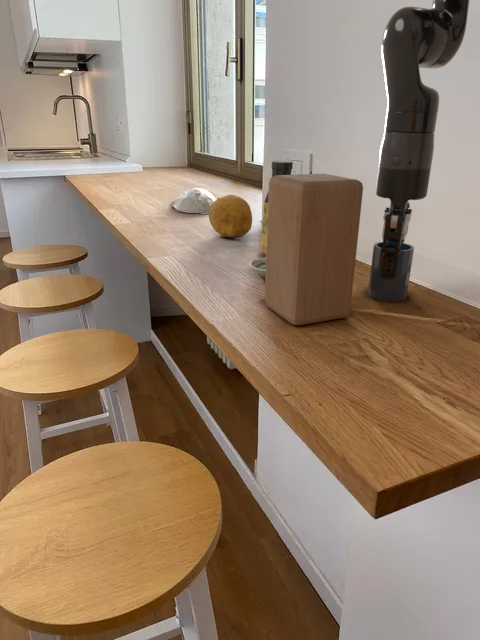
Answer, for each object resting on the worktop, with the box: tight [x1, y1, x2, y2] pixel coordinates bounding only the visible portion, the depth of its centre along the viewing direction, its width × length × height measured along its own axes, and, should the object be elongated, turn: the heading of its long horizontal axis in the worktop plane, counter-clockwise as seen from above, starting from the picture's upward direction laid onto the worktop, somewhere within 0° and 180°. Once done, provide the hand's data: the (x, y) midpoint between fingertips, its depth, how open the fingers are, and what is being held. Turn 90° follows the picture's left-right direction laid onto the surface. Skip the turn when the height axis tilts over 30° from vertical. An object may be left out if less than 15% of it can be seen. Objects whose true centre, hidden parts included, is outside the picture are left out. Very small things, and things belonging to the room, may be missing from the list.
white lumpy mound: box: [172, 187, 217, 215], centre depth 161 cm, size 16×25×7 cm, turn 7°
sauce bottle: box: [261, 159, 294, 258], centre depth 100 cm, size 7×6×20 cm
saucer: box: [248, 257, 266, 279], centre depth 93 cm, size 10×10×2 cm
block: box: [264, 173, 364, 326], centre depth 72 cm, size 10×10×20 cm
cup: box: [367, 241, 415, 302], centre depth 80 cm, size 6×6×9 cm
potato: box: [208, 194, 253, 240], centre depth 122 cm, size 10×12×10 cm
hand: (389, 272), depth 80 cm, fingers closed on cup, 6 cm apart
